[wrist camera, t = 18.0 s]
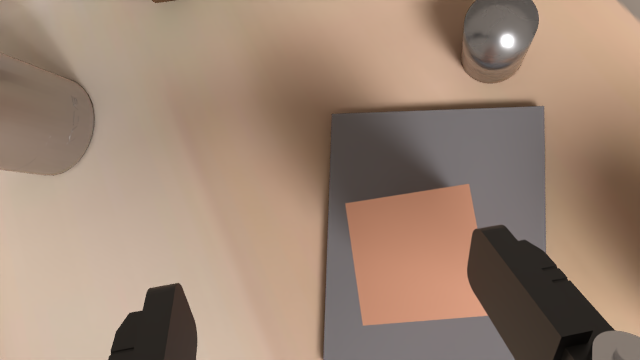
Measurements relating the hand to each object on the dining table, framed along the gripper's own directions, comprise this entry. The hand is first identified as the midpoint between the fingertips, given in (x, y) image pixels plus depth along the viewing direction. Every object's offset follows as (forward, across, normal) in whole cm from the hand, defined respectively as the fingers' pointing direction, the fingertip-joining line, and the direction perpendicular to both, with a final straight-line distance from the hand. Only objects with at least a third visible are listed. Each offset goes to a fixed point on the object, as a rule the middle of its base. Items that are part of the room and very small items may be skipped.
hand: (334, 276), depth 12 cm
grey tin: (+19, +15, -1) cm, 24 cm away
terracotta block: (+12, +8, -11) cm, 18 cm away
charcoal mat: (+13, +8, -12) cm, 19 cm away
